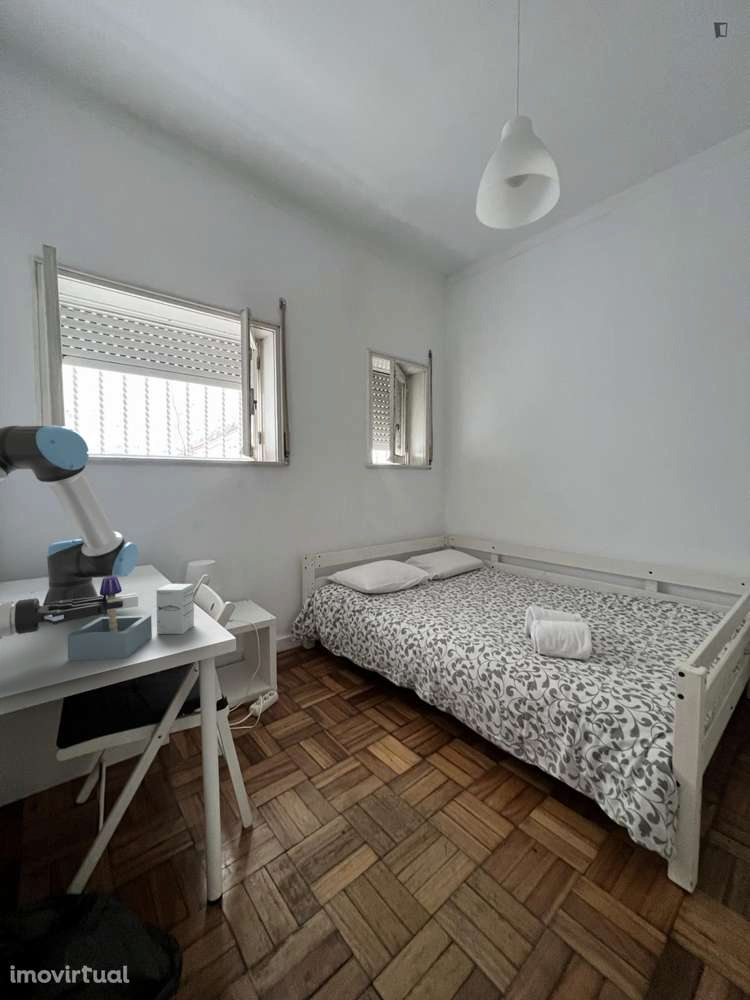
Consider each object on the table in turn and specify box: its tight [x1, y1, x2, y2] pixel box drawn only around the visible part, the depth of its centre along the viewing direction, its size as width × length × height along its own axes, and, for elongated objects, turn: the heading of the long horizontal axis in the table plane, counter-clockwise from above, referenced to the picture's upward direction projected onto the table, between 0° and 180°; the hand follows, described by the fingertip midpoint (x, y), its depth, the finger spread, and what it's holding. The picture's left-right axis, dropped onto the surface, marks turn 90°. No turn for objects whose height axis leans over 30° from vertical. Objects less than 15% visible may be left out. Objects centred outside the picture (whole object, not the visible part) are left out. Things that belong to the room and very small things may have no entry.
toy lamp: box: [99, 576, 123, 632], centre depth 98 cm, size 5×5×17 cm
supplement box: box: [156, 583, 195, 635], centre depth 111 cm, size 7×7×13 cm
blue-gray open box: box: [66, 614, 153, 662], centre depth 99 cm, size 13×13×6 cm
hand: (137, 599), depth 101 cm, fingers closed on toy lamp, 2 cm apart
